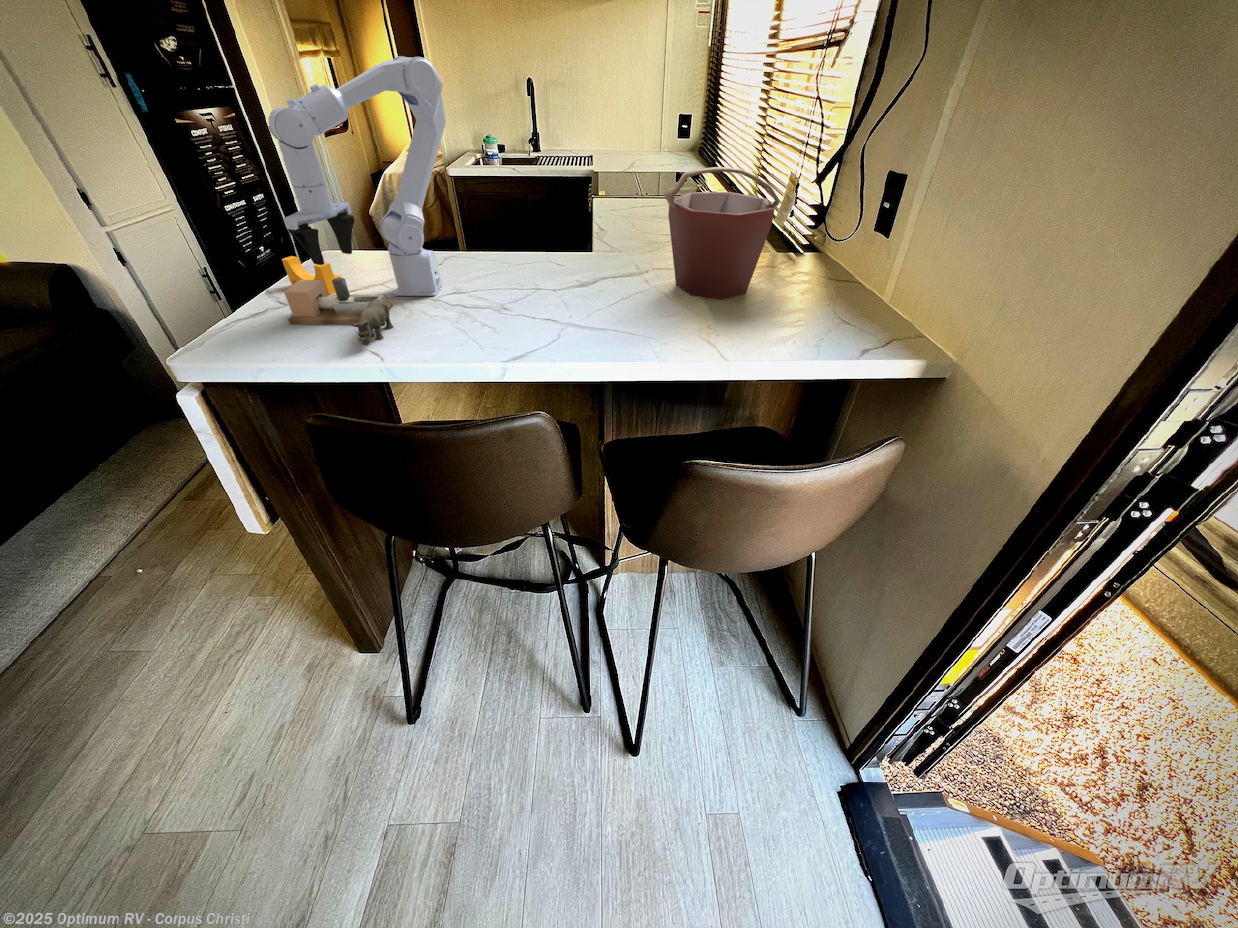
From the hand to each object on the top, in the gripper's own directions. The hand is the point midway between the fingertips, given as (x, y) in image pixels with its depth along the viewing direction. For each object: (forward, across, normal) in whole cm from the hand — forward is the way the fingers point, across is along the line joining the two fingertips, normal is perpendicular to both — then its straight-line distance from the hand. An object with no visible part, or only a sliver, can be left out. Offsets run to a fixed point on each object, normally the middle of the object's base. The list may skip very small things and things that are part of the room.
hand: (333, 258), depth 105 cm
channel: (+9, -3, -6) cm, 11 cm away
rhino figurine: (+10, -11, -16) cm, 22 cm away
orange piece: (+10, +6, +14) cm, 18 cm away
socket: (+9, -7, +3) cm, 11 cm away
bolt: (+9, -5, -1) cm, 10 cm away
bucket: (+10, +43, -71) cm, 83 cm away
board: (+10, -5, -2) cm, 11 cm away
